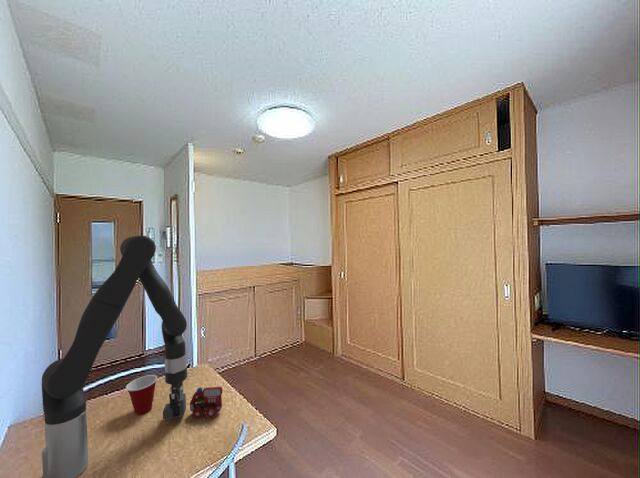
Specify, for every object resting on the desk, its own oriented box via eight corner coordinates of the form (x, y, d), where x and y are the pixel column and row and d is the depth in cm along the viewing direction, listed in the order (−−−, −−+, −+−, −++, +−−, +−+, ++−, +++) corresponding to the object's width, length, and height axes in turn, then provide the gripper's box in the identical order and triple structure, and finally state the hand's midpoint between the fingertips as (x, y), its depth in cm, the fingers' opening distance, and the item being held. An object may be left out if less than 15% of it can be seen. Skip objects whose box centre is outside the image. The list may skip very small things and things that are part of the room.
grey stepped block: (163, 419, 105) (162, 403, 105) (166, 411, 110) (165, 396, 110) (183, 415, 107) (183, 399, 107) (186, 408, 112) (185, 392, 111)
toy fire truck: (195, 408, 115) (194, 382, 115) (225, 407, 115) (224, 382, 115) (187, 419, 108) (186, 392, 108) (219, 418, 108) (218, 391, 108)
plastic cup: (125, 409, 115) (124, 380, 115) (156, 399, 121) (155, 372, 121) (127, 423, 106) (126, 391, 106) (160, 412, 113) (159, 382, 113)
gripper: (169, 361, 114) (171, 402, 114) (160, 378, 100) (162, 425, 101) (189, 358, 116) (191, 399, 116) (183, 374, 102) (185, 421, 103)
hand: (177, 411), depth 108 cm, fingers closed on grey stepped block, 5 cm apart
